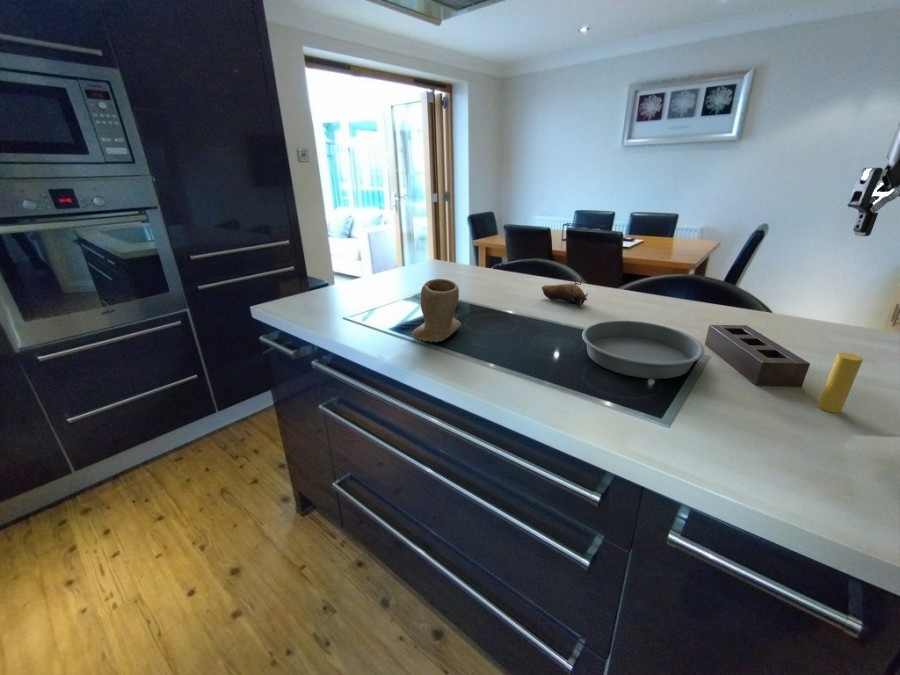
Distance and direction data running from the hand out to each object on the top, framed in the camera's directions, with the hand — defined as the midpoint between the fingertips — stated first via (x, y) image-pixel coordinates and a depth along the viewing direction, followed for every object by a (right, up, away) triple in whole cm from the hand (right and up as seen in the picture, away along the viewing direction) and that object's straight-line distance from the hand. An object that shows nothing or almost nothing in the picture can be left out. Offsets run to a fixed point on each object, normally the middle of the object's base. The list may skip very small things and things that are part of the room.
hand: (890, 235), depth 64 cm
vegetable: (-36, -6, +63) cm, 73 cm away
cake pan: (-30, -21, +24) cm, 44 cm away
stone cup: (-75, -16, +40) cm, 87 cm away
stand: (-8, -22, +20) cm, 31 cm away
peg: (-7, -29, +4) cm, 30 cm away
